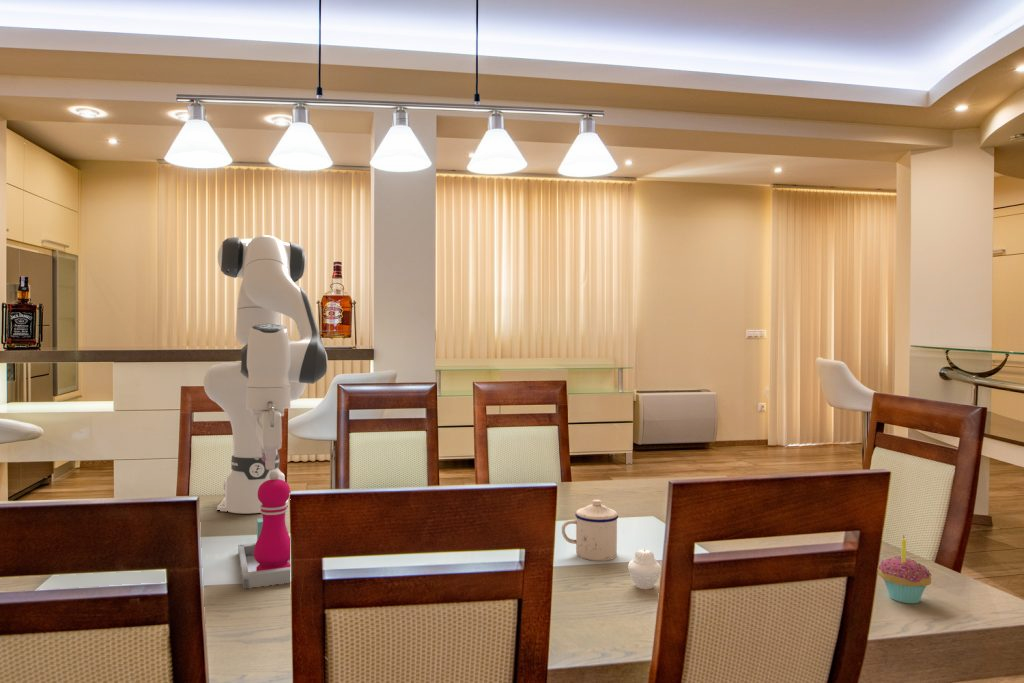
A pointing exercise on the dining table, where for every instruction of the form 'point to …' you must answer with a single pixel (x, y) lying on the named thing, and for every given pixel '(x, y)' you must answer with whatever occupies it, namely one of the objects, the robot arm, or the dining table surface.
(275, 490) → the pepper mill
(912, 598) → the cupcake
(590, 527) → the teacup with lid
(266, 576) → the grey rectangular frame
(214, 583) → the dining table surface
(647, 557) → the small white lidded pot
